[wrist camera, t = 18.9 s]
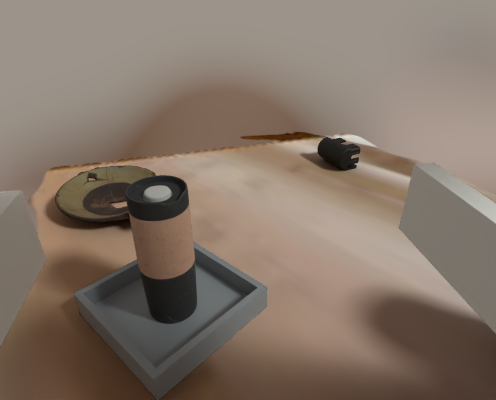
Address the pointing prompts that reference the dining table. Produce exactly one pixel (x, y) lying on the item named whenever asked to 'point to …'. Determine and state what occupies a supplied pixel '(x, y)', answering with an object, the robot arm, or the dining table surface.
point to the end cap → (338, 153)
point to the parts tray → (170, 335)
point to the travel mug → (164, 246)
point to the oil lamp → (99, 193)
